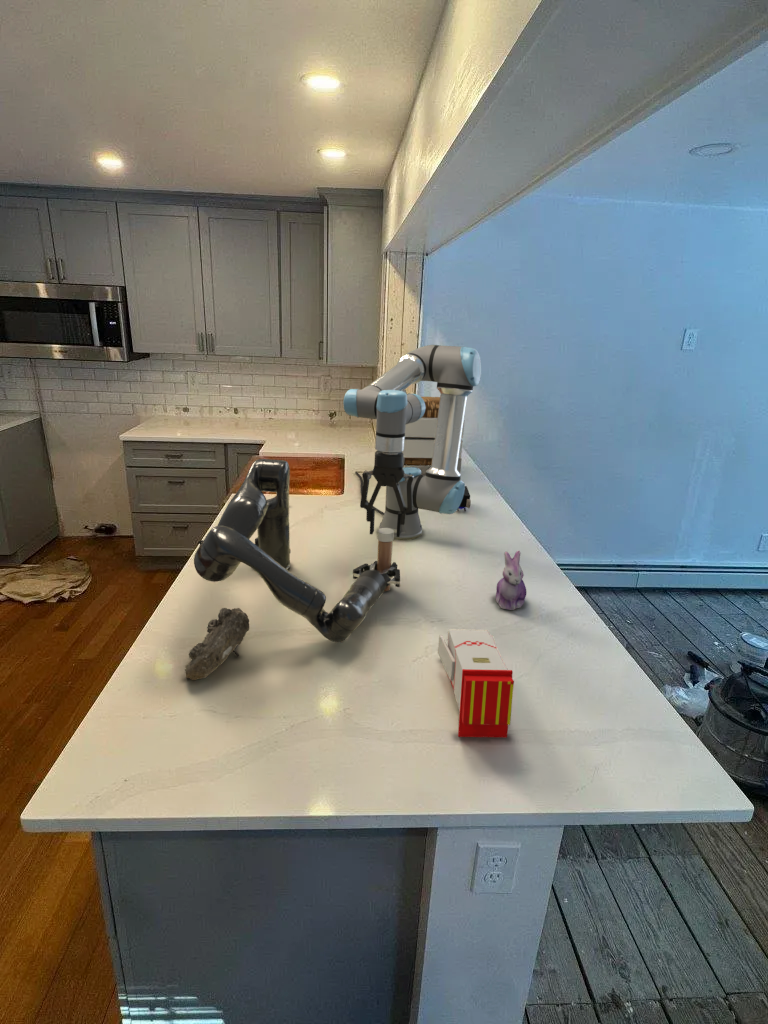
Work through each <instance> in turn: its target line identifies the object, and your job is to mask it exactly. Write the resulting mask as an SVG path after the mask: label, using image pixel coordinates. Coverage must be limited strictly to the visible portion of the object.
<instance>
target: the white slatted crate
mask: <svg viewBox="0 0 768 1024" xmlns="http://www.w3.org/2000/svg"><path fill="white" fill-rule="evenodd" d="M404 392H405V393H406V394H408V393H407V390H406V389H405V390H404ZM421 397H422V399H423V400H424V402H425V406H426V409H425V413H424V415H423V416H422V417H421V418H420V419H419V420H417V421H415V422H413V423H409V424H406V425H405V441H404V451H403V454H404V458H403V468H404V467H405V466H406V467H417V466H418V467H431V465H432V457H433V449H434V441H435V434H436V426H437V418H438V410H439V402H440V396H421ZM464 429H465V419H464V421H463V429H462V436H461V443H460V450H459V458H458V465H457V471H458V472H459V473H460V475H461V472H462V461H463V460H462V453H463V442H464V441H463V440H462V439H463V438H464V431H465V430H464Z"/></svg>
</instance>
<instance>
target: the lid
mask: <svg viewBox="0 0 768 1024" xmlns="http://www.w3.org/2000/svg"><path fill="white" fill-rule="evenodd" d="M376 539H377V541H378V540H379V541H382V542H391V541H394V540H395V539H394V530H393V529H390V528H380V529H379V528H378V529H377V531H376Z"/></svg>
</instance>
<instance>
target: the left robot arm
mask: <svg viewBox="0 0 768 1024" xmlns="http://www.w3.org/2000/svg"><path fill="white" fill-rule="evenodd" d="M290 482H291V469H290V465H289V462H288V461H287V460H285V459H284V460H283V459H272V458H271V459H269V458H259V459H255V460H254V461H253V462H252V464H251V466H250V467H249V470H248V471H247V473H246V476H245V478H244V479H243V482H242V483H241V485H240V487H239V488H238V490H237V491H236V493H235V494H234V495H233V497H232V498H231V499H230V501H229V502H228V504H227V505H226V507H225V509H224V511H223V512H222V515H221V517H220V518H219V521H218V523H217V525H215V526H214V527H212V528H211V529H209V531H208V533H207V534H206V535H205V537H204V539H201V540H199V541H198V542H197V544H199V547H198V548H197V549H196V552H195V553H194V557H193V565H194V569H195V571H196V572H197V574H198V575H199V577H200V578H202V579H203V580H205V581H208V582H214V583H217V582H222V581H225V580H227V579H228V578H230V576H232V575H233V574H234V573H235V571H236V569H237V568H238V567H239V565H240V564H244V565H245V566H248V567H249V568H251V569H252V570H254V571H255V572H256V573H257V574H258V575H259V576H260V577H261V579H262V580H263V581H264V583H265V585H266V587H267V588H268V589H269V591H270V593H271V594H272V596H273V597H274V598H275V600H276V601H277V602H279V603H280V604H281V605H282V606H283V607H285V608H287V609H288V610H290V611H291V612H294V613H295V614H298V616H301V617H302V618H304V619H305V620H306V621H308V622H309V623H310V624H311V625H312V627H314V628H315V629H316V630H317V631H318V632H319V633H320V634H321V635H322V636H323V637H324V638H325V639H326V640H327V641H330V642H333V643H342V642H343V643H344V641H347V639H348V638H349V637H350V636H351V635H352V634H353V633H354V631H356V629H357V628H358V627H359V626H360V625H361V624H362V623H363V621H364V620H365V618H366V616H367V614H368V612H370V610H371V608H372V607H373V606H374V605H375V604H376V603H377V601H378V600H379V599H380V597H381V596H382V595H383V594H384V593H385V592H384V590H385V588H386V587H387V586H389V585H390V586H391V585H394V586H395V587H396V588H400V587H401V569H399V568H398V564H397V562H395V561H393V562H392V563H391V566H390V568H389V569H387V568H386V569H384V570H383V571H377V560H374V561H373V562H372V563H370V564H369V563H368V562H367V563H363V564H361V565H359V566H357V567H355V568H353V569H352V579H354V580H355V581H353V583H352V584H351V586H350V587H349V589H348V590H347V591H346V593H345V594H344V595H343V597H342V598H341V599H340V600H339V601H338V602H337V604H336V605H335V606H334V607H333V608H332V609H331V610H330V611H329V612H327V611H326V610H325V609H324V607H325V604H326V602H327V601H326V600H327V595H326V594H325V592H323V591H322V590H320V589H319V588H317V587H315V586H314V585H312V584H310V583H308V582H307V581H305V580H304V579H301V578H300V577H298V576H296V575H295V574H293V573H292V572H291V571H289V570H290V568H291V560H290V559H291V549H290V546H291V545H290V484H291V483H290ZM264 492H267V493H275V494H276V495H275V496H274V497H271V498H269V499H267V497H266V496H265V494H264ZM256 531H257V537H255V539H254V542H253V541H252V540H251V538H252V536H253V535H254V534H255V533H256ZM390 578H391V579H390Z"/></svg>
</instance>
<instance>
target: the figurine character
mask: <svg viewBox="0 0 768 1024" xmlns="http://www.w3.org/2000/svg"><path fill="white" fill-rule="evenodd" d="M471 501H472V500H471V494H470V491H469V488H468V486H467V485H465V491H464V495H463V499H462V501H461V504H460V506H459V508H458V509H457V510H456V512H460V510H463V511H464V513H466V512H467V509H470V508H471V505H472V504H471ZM466 508H467V509H466Z"/></svg>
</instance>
